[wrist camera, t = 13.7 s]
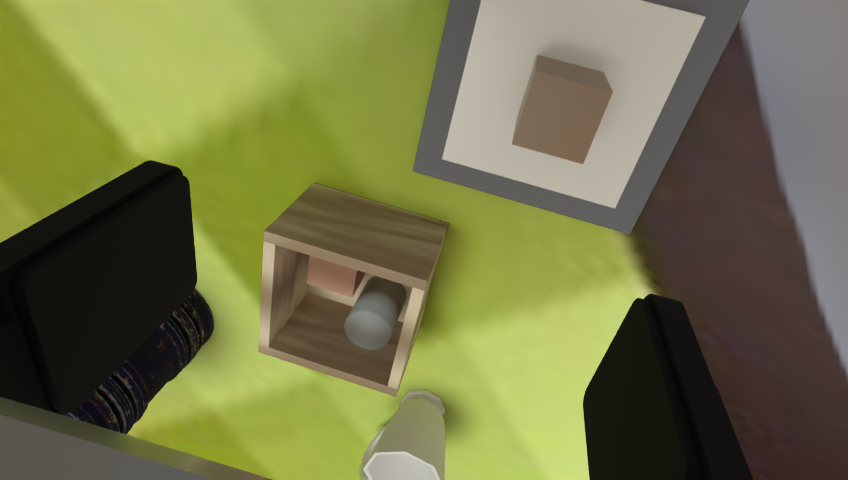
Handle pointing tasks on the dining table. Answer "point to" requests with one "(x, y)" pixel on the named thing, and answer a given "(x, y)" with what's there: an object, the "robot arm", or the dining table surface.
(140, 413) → the storage jar
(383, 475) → the cup
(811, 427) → the dining table surface
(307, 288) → the crate
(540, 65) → the lid
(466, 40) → the mat
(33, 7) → the dining table surface
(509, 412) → the dining table surface
